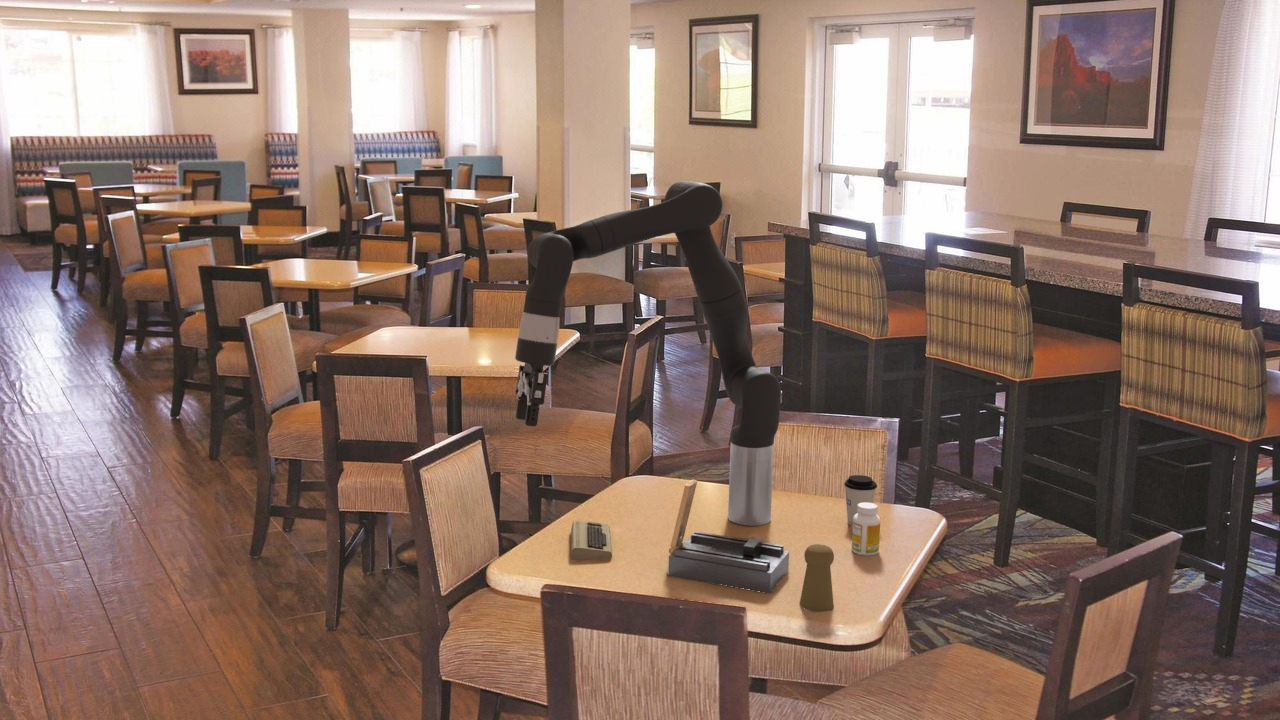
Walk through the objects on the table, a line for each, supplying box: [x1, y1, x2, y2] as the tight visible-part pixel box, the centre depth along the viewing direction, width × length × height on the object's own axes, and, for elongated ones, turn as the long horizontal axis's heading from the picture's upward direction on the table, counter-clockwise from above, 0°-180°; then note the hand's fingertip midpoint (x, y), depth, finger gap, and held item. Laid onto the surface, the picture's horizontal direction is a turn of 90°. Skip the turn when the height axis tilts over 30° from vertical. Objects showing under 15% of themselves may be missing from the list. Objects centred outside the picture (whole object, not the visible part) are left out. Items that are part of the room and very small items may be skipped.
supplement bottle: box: [851, 502, 881, 556], centre depth 235 cm, size 5×5×10 cm
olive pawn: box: [799, 543, 835, 613], centre depth 209 cm, size 6×6×11 cm
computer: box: [570, 520, 613, 561], centre depth 236 cm, size 16×8×3 cm, turn 3°
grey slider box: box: [667, 530, 790, 594], centre depth 223 cm, size 12×20×7 cm, turn 67°
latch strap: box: [668, 478, 698, 555], centre depth 225 cm, size 4×14×1 cm
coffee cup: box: [843, 474, 878, 526], centre depth 251 cm, size 7×7×10 cm
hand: (525, 422), depth 224 cm, fingers open, 8 cm apart
